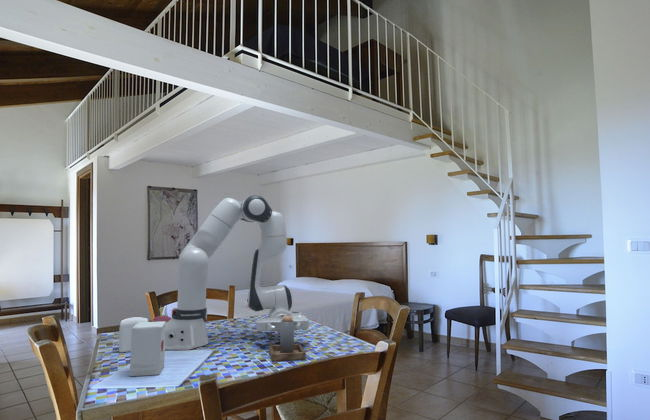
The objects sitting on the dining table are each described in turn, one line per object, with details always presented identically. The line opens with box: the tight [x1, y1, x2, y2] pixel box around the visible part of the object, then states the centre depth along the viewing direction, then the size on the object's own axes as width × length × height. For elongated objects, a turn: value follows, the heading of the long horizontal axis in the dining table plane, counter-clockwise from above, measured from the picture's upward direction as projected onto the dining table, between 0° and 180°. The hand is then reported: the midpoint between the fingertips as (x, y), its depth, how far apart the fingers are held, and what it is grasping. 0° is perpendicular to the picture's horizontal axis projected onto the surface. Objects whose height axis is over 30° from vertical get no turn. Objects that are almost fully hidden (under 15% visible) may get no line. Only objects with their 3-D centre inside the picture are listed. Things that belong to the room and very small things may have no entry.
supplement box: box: [129, 321, 166, 377], centre depth 129 cm, size 9×9×15 cm
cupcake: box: [151, 306, 172, 323], centre depth 183 cm, size 9×8×12 cm
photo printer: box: [118, 316, 149, 353], centre depth 152 cm, size 10×4×12 cm, turn 112°
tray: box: [268, 343, 307, 363], centre depth 147 cm, size 12×12×2 cm
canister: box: [279, 316, 295, 353], centre depth 147 cm, size 5×5×14 cm
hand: (285, 328), depth 152 cm, fingers open, 8 cm apart
